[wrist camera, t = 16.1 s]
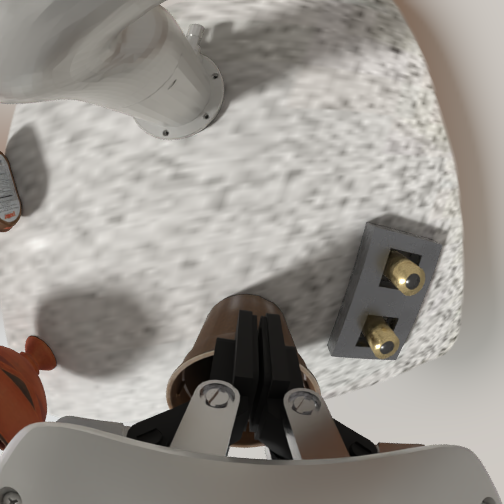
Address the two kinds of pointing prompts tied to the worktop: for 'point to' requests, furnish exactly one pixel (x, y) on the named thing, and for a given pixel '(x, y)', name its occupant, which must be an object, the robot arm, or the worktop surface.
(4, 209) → the tin
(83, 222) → the worktop surface
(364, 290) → the jig
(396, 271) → the brass cylinder
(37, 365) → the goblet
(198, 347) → the plant pot
